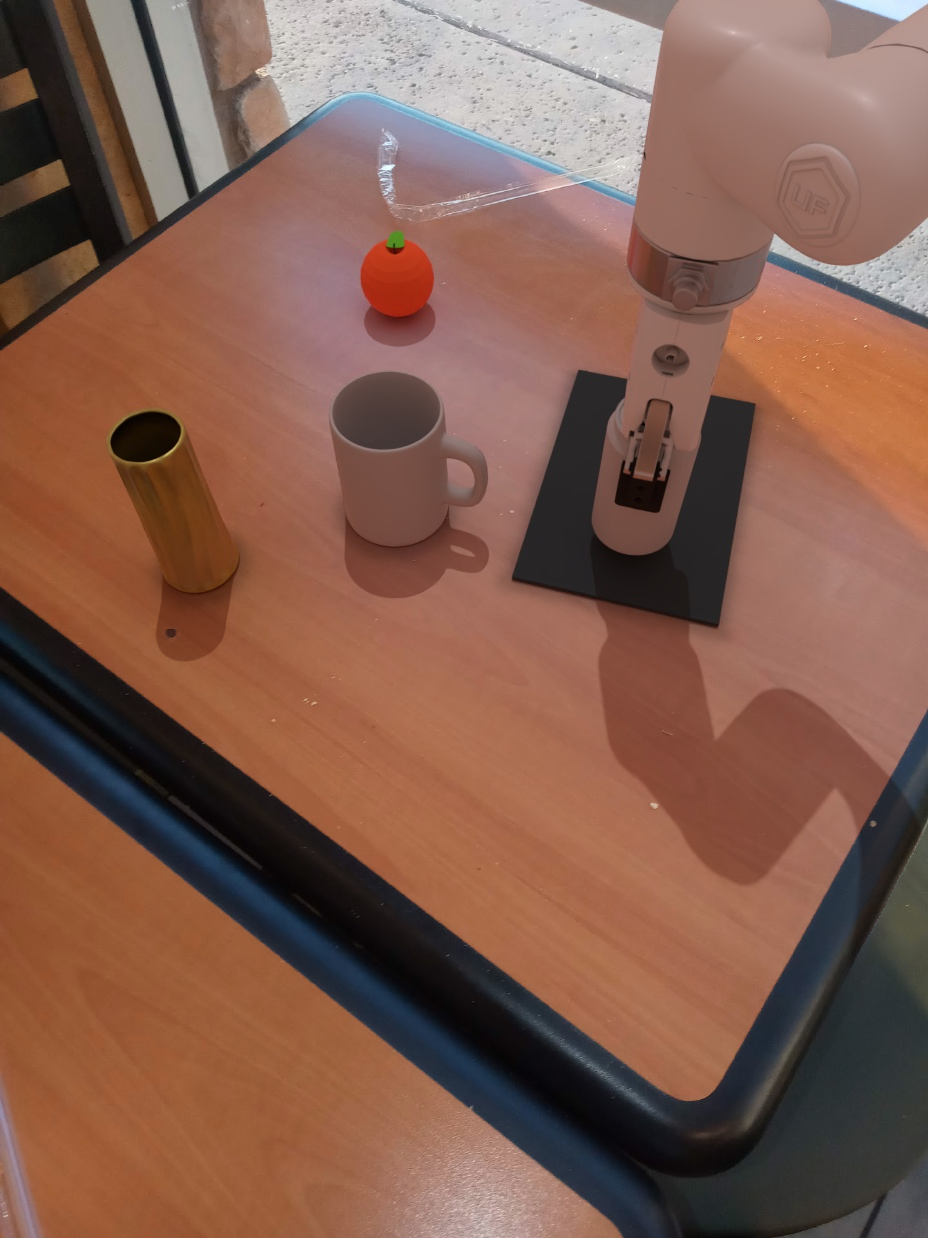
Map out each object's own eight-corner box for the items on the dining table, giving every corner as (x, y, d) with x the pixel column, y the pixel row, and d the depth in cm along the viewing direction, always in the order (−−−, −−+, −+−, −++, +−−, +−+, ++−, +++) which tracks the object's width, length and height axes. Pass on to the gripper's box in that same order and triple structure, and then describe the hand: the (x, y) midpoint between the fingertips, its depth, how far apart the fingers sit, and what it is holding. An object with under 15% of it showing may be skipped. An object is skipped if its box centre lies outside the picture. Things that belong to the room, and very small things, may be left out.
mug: (329, 533, 73) (308, 437, 64) (368, 457, 78) (353, 358, 68) (470, 570, 71) (469, 477, 62) (502, 491, 76) (506, 392, 66)
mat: (717, 627, 68) (719, 624, 68) (511, 579, 71) (511, 576, 70) (754, 406, 81) (755, 403, 80) (578, 372, 83) (578, 369, 83)
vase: (150, 589, 71) (84, 464, 59) (176, 527, 74) (118, 397, 62) (226, 599, 70) (174, 475, 58) (248, 536, 73) (204, 406, 61)
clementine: (368, 277, 91) (361, 212, 85) (438, 279, 90) (435, 213, 84) (360, 331, 86) (352, 267, 80) (433, 333, 86) (430, 268, 80)
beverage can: (573, 525, 71) (589, 414, 61) (629, 483, 73) (653, 370, 63) (633, 575, 69) (660, 468, 58) (689, 530, 71) (725, 419, 61)
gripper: (747, 366, 45) (679, 575, 60) (782, 171, 54) (715, 396, 69) (598, 338, 46) (568, 550, 61) (656, 152, 55) (617, 377, 70)
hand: (646, 467), depth 65 cm, fingers closed on beverage can, 6 cm apart
